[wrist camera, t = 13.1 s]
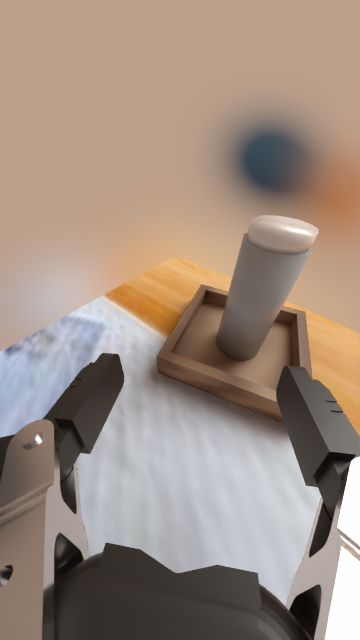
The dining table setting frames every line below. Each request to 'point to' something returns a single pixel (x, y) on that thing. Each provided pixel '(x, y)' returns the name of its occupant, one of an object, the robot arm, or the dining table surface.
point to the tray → (224, 372)
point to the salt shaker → (262, 282)
